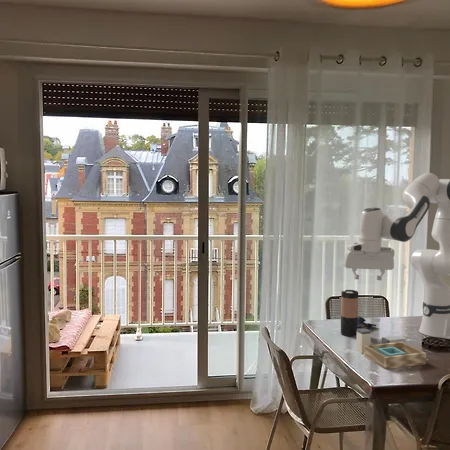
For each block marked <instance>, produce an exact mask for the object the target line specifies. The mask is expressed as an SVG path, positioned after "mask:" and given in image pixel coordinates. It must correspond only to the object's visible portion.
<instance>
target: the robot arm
mask: <svg viewBox="0 0 450 450" xmlns="http://www.w3.org/2000/svg"><path fill="white" fill-rule="evenodd" d="M402 201H403V202H404V204H405V206H406V207H408V208H409V209H410V210H409V212H408V213H407V214H406V215H404V216H389V215H388V214H385V213H383V212H382V209H381V208H379V207H367V208H364V209H363V210H362V212H361V215H360V219H359V233H360V234H359V238H358V241H356V242H353V243H349V244H347V250H346V251H345V254H344V258H343V266H344V267H345V268H346V269H351V271H352V273H353V276H354V278H353V279H354V280H359V279H360V275H359V274H357V271H358V269H359V270H362V269H363V270H379V272H380V273H379V274H378V275H376V280H377V281H382V278H383V276H384V275H385V273H386V271H387V270H388V271H392V270H393V269H394V267H395V260H394V257H395V249H393V248H392V247H388V246H387V247H385V246H382V239H385V240H392V241H398V242H403V243H406V242H408V241H410V240H411V239H412V238H413V237H414V235H415V234H416V233H415V232H416V231H417V227H418V226H419V225H420V223H421V221H422V220H423V219H424V217H425V215H426V214H427V212H428V210H429V208H430V205H431V204H437V209H436V212H435V215H434V216H435V217H434V219H433V224H432V229H431V237H432V239H433V240H434V241H435V242H437V243H439V249H430V248H422V249H420V248H419V249H416V250H414V251H413V253H412V254H411V257H410V262H411V266H412V267H413V269H414V270H416V272H418V274H419V276H420V278H421V281H422V284H423V292H424V293H423V295H424V297H423V302H422V312H423V313H422V318H421V323H420V327H419V328H418V332H419V333H421V334H422V335H424V336H428V337H433V338H439V339H440V338H442V339H447V340H450V285H449V284H448V283H446V282H445V281H444V280H443V278H442V276H449V277H450V178H440V179H439V177H438V176H437V175H436V174H434V173H432V172H425V173H422V174H421V175H419V176H417V177H416V178H415V179H414V180H413V181H412V182H410V183H409V184H408V185H407V186H406V188H404V190H403V191H402ZM441 275H442V276H441Z"/></svg>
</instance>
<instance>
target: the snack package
mask: <svg viewBox="0 0 450 450" xmlns="http://www.w3.org/2000/svg"><path fill="white" fill-rule="evenodd" d="M371 327H374V328H375V327H377V324H374V323H369V322H367V320H366V318H365V317H362V316H359V315H358V323H357V329H364V328H365V329H369V328H371Z"/></svg>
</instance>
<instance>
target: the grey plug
mask: <svg viewBox="0 0 450 450" xmlns="http://www.w3.org/2000/svg"><path fill="white" fill-rule="evenodd" d="M395 342H404V343H406V342H407V340H406V337H403V336H401V335H393V336H392V335H391V336H383V337H381V344H386V343H395ZM406 344H407V343H406Z"/></svg>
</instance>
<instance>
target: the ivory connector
mask: <svg viewBox="0 0 450 450" xmlns="http://www.w3.org/2000/svg"><path fill="white" fill-rule="evenodd" d="M355 337H356V343H355V344H356V345H355V351H357V352H358V353H360V354H364V346H367V345H371V340H372V339H371V337H372V331H371V330H369V329H368V328H363V329H357V335H356V336H355Z"/></svg>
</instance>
